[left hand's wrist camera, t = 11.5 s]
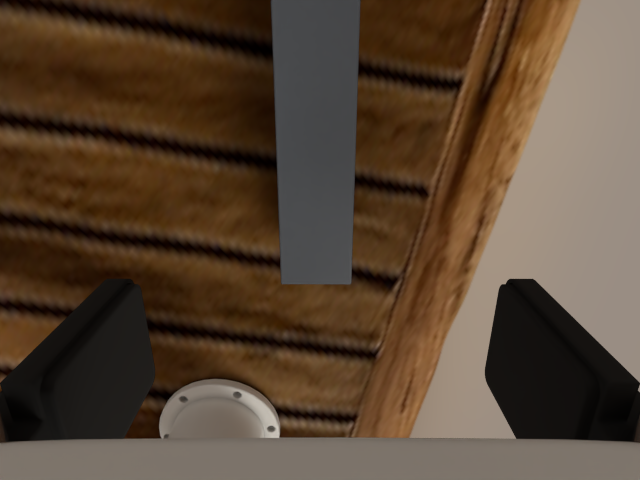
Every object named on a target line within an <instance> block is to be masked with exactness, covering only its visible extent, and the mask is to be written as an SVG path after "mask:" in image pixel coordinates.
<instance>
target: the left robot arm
mask: <svg viewBox="0 0 640 480" xmlns="http://www.w3.org/2000/svg"><path fill="white" fill-rule="evenodd" d="M154 378H155V366H154V361H153V355H152V349H151V344H150V338H149V332H148V326H147V321H146V315H145V309H144V304H143V298H142V292H141V288H140V286H139V285H138V284H134V283H133V281H132V280H131V279H106V280H105V281H104V282H103V283H102V284H101V285H100V286H99V287H98V288H97V289H96V290H95V291H94V292H93V293H92V294H91V295H90V296H88V297H87V298H86V299H85V300H84V301H83V302H82V303H81V304H80V305H79V306H78V307H77V308H76V309H75V310H74V311H73V312H72V313H71V314H70V315H69V316H68V317H67V318H66V319H65V320H64V321H63V322H62V323H61V324H60V325H59V326H58V327H57V328H56V329H55V330H54V331H53V332H52V333H51V334H50V335H49V336H48V337H47V338H46V339H45V340H44V341H43V342H41V343H40V344H39V345H38V346H37V347H36V348H35V349H34V350H33V351H32V352H31V353H30V354H29V355H28V356H27V357H26V358H25V359H24V360H23V361H22V362H21V363H20V364H19V365H18V366H17V367H16V368H15V369H14V370H13V371H12V372H11V373H10V374H9V375H8V376H7V377H6V378H5V379H4V380H3V381H2V382H1V383H0V385H1V388H2V391H1V392H0V480H640V392H639V391H638V388H639V385H640V383H639V382H638V381H637V380H636V379H635V378H634V377H633V376H632V375H631V374H630V373H629V372H628V371H627V370H626V369H625V368H624V367H623V366H622V365H621V364H620V363H619V362H618V361H617V360H616V359H615V358H614V357H613V356H612V355H611V354H610V353H609V352H608V351H607V350H606V349H605V348H604V347H603V346H602V345H601V344H599V343H598V342H597V341H596V340H595V339H594V338H593V337H592V336H591V335H590V334H589V333H588V332H587V331H586V330H585V329H584V328H583V327H582V326H581V325H580V324H579V323H578V322H577V321H576V320H575V319H574V318H573V317H572V316H571V315H570V314H569V313H568V312H567V311H566V310H565V309H564V308H563V307H562V306H561V305H560V304H559V303H558V302H557V301H556V300H555V299H554V298H552V297H551V296H550V295H549V294H548V293H547V292H546V291H545V290H544V289H543V288H542V287H541V286H540V285H539V284H538V283H537V282H536V281H535V280H534V279H509V280H508V281H507V283H506V284H502V285H501V286H500V288H499V292H498V298H497V304H496V309H495V315H494V321H493V327H492V332H491V338H490V344H489V349H488V355H487V361H486V367H485V378H486V382H487V384H488V386H489V388H490V390H491V392H492V394H493V396H494V397H495V399H496V401H497V403H498V405H499V407H500V409H501V411H502V412H503V414H504V416H505V418H506V420H507V422H508V424H509V426H510V428H511V429H512V431H513V433H514V435H515V437H516V439H463V438H279V435H280V422H279V418H278V415H277V413H276V411H275V409H274V407H273V406H272V404H271V403H270V402H269V401H268V399H267V398H265V397H264V396H263V395H262V394H261V393H260V392H258V391H256V390H255V389H253V388H251V387H250V386H247V385H244V384H242V383H239V382H235V381H231V380H225V379H207V380H201V381H197V382H193V383H191V384H189V385H186V386H184V387H182V388H181V389H179V390H178V391H177V392H175V393H174V394H173V395H172V396H171V398H170V399H169V400H168V401H167V403H166V405H165V407H164V409H163V412H162V414H161V417H160V423H159V430H160V436H161V438H162V439H124V437H125V435H126V433H127V431H128V429H129V428H130V426H131V424H132V422H133V420H134V418H135V416H136V414H137V413H138V411H139V409H140V407H141V405H142V403H143V401H144V399H145V397H146V396H147V394H148V392H149V390H150V388H151V386H152V384H153V382H154Z"/></svg>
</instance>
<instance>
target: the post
mask: <svg viewBox="0 0 640 480" xmlns="http://www.w3.org/2000/svg"><path fill="white" fill-rule="evenodd" d="M271 17H272V45H273V72H274V100H275V127H276V155H277V183H278V210H279V238H280V266H281V284H351V275H352V244H353V213H354V182H355V151H356V120H357V88H358V57H359V26H360V0H271Z"/></svg>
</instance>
